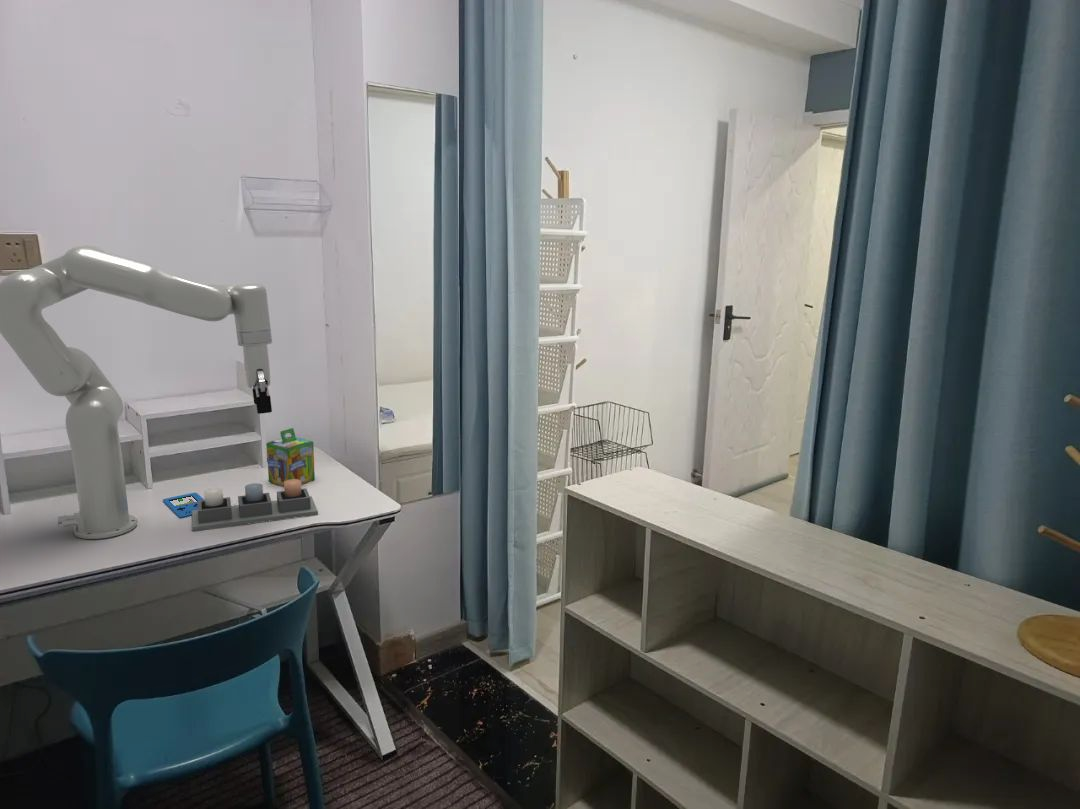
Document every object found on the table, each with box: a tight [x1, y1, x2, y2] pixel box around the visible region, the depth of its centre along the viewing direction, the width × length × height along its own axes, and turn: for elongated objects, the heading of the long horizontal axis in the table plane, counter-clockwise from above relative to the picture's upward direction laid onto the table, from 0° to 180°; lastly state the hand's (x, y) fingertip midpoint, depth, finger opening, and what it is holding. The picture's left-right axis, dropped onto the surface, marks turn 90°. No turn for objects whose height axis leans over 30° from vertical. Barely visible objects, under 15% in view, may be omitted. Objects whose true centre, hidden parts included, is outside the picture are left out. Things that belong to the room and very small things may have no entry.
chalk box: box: [265, 427, 316, 487], centre depth 199 cm, size 9×9×15 cm
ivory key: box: [203, 487, 224, 506], centre depth 172 cm, size 4×4×3 cm
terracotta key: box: [283, 479, 302, 497], centre depth 179 cm, size 4×4×3 cm
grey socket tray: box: [191, 487, 319, 532], centre depth 176 cm, size 28×11×4 cm, turn 115°
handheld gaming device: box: [162, 492, 205, 519], centre depth 181 cm, size 8×1×15 cm
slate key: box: [244, 482, 264, 501], centre depth 176 cm, size 4×4×3 cm
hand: (263, 408), depth 173 cm, fingers open, 9 cm apart
